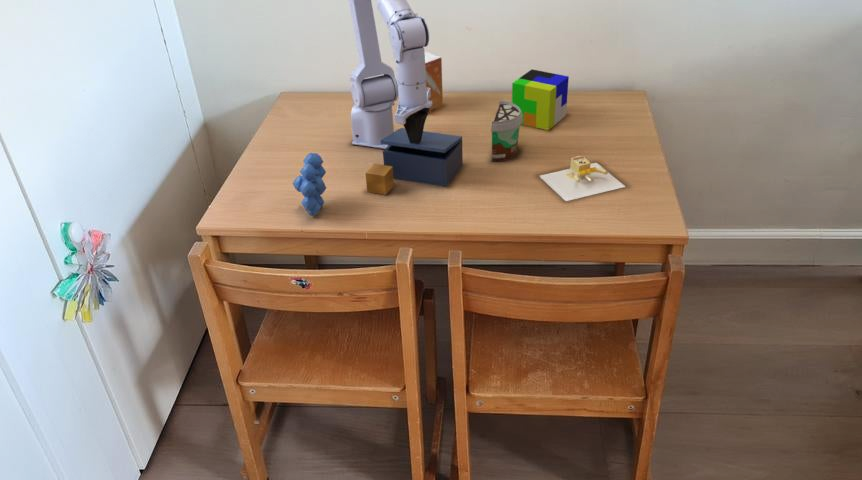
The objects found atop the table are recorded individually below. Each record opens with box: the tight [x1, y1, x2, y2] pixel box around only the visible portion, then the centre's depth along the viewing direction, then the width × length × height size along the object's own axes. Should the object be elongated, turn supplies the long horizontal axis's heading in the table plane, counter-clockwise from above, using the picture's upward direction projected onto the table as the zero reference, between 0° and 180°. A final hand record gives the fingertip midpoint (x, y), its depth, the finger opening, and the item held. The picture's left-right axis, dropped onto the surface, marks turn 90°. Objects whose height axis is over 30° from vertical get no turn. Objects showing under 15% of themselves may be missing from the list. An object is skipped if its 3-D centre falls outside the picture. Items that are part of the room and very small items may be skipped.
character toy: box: [568, 154, 609, 183], centre depth 163 cm, size 8×3×8 cm
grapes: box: [291, 152, 327, 217], centre depth 154 cm, size 12×7×12 cm, turn 174°
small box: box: [424, 50, 444, 112], centre depth 193 cm, size 8×6×13 cm
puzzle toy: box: [511, 69, 569, 131], centre depth 187 cm, size 10×10×10 cm
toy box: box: [382, 139, 464, 188], centre depth 168 cm, size 10×15×6 cm
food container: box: [490, 100, 523, 162], centre depth 172 cm, size 12×6×10 cm, turn 169°
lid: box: [381, 127, 463, 153], centre depth 165 cm, size 11×15×1 cm
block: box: [365, 163, 395, 196], centre depth 162 cm, size 4×4×5 cm
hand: (415, 142), depth 161 cm, fingers closed
